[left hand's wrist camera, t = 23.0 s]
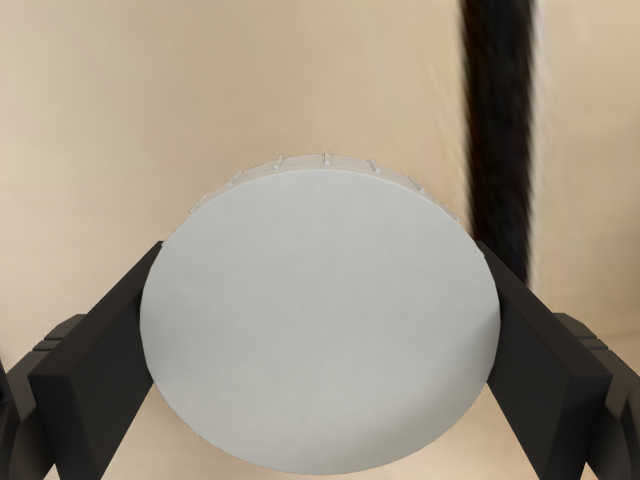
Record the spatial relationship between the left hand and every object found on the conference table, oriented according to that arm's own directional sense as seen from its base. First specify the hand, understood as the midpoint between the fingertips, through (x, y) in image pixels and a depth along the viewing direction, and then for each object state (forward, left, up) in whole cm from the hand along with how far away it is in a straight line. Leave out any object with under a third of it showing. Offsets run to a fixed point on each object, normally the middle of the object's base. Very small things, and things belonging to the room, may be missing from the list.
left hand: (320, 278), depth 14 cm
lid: (0, 0, +3) cm, 3 cm away
